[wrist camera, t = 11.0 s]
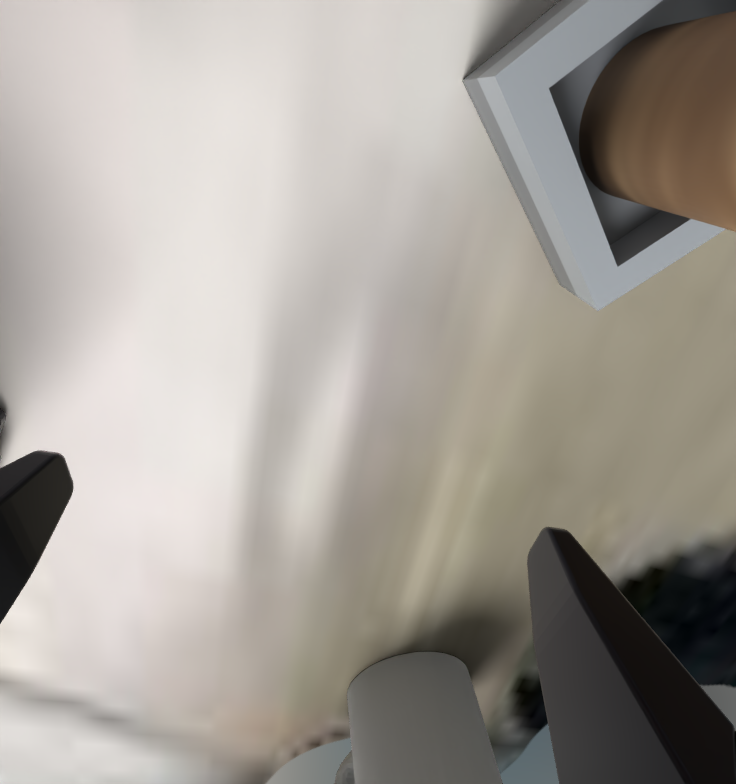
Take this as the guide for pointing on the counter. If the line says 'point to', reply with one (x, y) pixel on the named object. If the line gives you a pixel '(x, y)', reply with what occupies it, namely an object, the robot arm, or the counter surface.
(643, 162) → the tan round-ended cylinder
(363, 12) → the counter surface
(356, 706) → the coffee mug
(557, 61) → the socket base
